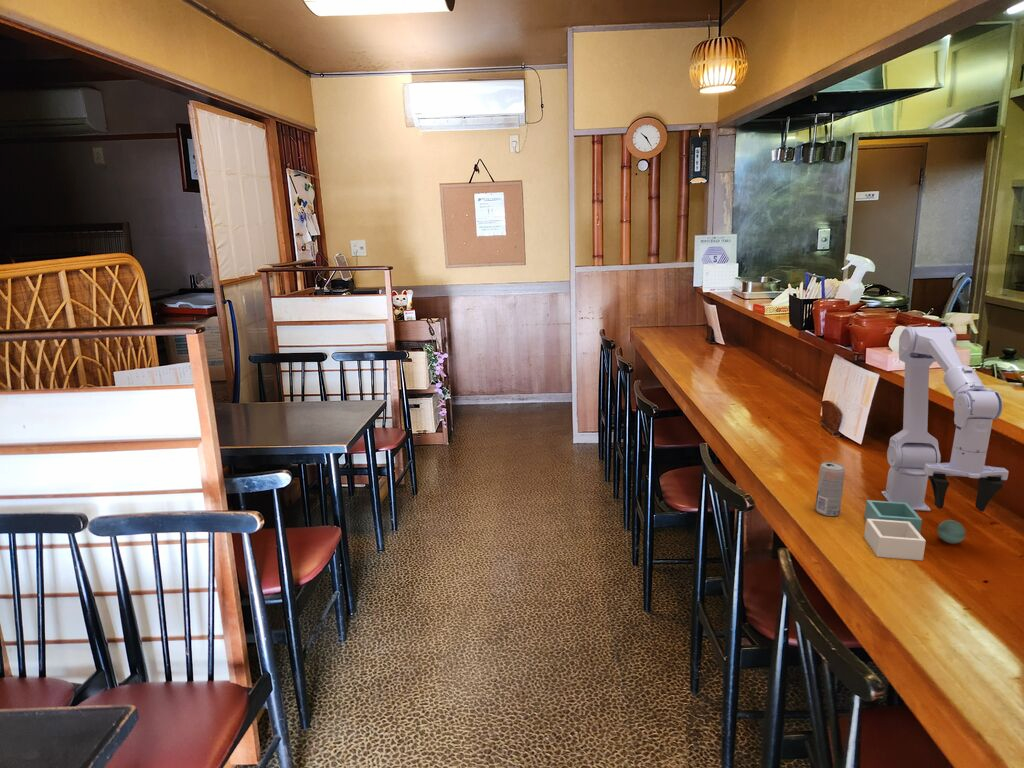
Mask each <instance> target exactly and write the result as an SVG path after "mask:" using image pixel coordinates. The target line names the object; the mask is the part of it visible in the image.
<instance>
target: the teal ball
mask: <svg viewBox="0 0 1024 768" xmlns="http://www.w3.org/2000/svg"><path fill="white" fill-rule="evenodd" d="M966 533H967V531H966V528H965V527H964V525H962V523H960V522H958V521H957V520H953V519H946V520H944V521H942V522H940V523H939V525H937V534H938V537H939V538H940V539H941V540H942V541H944V542H946V543H948V544H958V543H961V542H962V541H963V540H964V539H965V537H966Z"/></svg>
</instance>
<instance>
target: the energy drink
mask: <svg viewBox="0 0 1024 768" xmlns="http://www.w3.org/2000/svg"><path fill="white" fill-rule="evenodd" d="M845 470H846V469H845V466H844V465H843V464H841V463H838V462H832V461H824V462H821V464H820V467H819V471H818V472H819V473H818V481H817V489H816V499H815V509H814V510H815V511H816V512H817V514H820V516H821V515H822V516H825V517H837V516H839V515H841V506H842V499H843V492H844V491H843V490H844V483H845V474H846V473H845V472H846V471H845Z"/></svg>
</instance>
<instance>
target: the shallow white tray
mask: <svg viewBox="0 0 1024 768" xmlns="http://www.w3.org/2000/svg"><path fill="white" fill-rule="evenodd" d="M863 538H864V540H865V541H866V542H867V544H868V545H869V547H870V548H871V550H872V552H873V553H874V554H875V556H876V557H878V558H888V559H898V560H901V559H902V560H913V561H923V560H924V556H925V555H924V554H925V548H926V542H927V540H926V539H925V538H924V537H923V536H922V535H921V532H920V533H919V532H918V531H917V530H916V529H915V527H914V526H913V525H912V524H911V523H910V522H908V521H894V520H880V519H865V527H864V534H863Z"/></svg>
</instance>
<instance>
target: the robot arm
mask: <svg viewBox="0 0 1024 768" xmlns="http://www.w3.org/2000/svg"><path fill="white" fill-rule="evenodd" d="M956 346H957V333H956V332H955V330H954V328H952V327H951V326H910V325H909V326H908V325H907V326H906V327H904V329H902V331H901V333H900V335H899V337H898V356H899V357H898V359H899V361H901V362H903V363H904V379H903V380H904V382H903V383H904V384H903V387H904V388H903V389H904V390H903V392H904V393H903V419H902V421H903V422H902V423H903V424H902V425H903V426H902V429H901V430H900V431H898V432H897V433H895V434H894V435H892V436H891V437H890V439H889V443H888V448H887V452H886V458H887V463H888V464H889V466H890V467H889V470H888V473H887V479H886V488H885V490H882V491H881V495H882V496H883V497H884V498H885V499H886V501H888V502H903V503H908V504H909V505H910V507H911V508H912V509H913V510H914V511H925V512H930V511H931V508H930V507H929V505H927V504H926V502H925V498H926V491H927V487H928V480H929V482H930V485H931V487H932V491H933V497H934V506H936V507H937V509H943V508H944V505H945V498H946V494H947V490H948V488H949V485H950V484H951V483H950V482H949V480H947V479H948V478H947V477H946V476H948V477H949V476H950V477H968V478H970V479H977V480H978V481H977V482H978V483H977V495H976V499H975V508H976V509H977V510H978V511H979V512H981V513H982V512H985V509H986V508H987V506H988V505H989V503H990V501H991V500H992V498H993V497H994V496H995V495H996V494H997V493H998V492H999V491H1000V490H1001V489H1003V487H1004V482H1003V481H1007V480H1008V477H1009V470H1008V469H1006V468H1005V467H996V466H991V465H986V459H987V453H988V448H989V442H990V438H991V437H990V436H991V432H992V426H993V421H994V420H997V419H999V418H1000V416H1002V412H1003V409H1004V408H1003V407H1004V406H1003V405H1004V404H1003V398H1002V397H1001V395H1000V391H998V390H992V389H991V388H990V387H988V388H987V387H986V386H985V385H984V383H983V381H982V380H981V378H980V377H979V375H978V374H977V373H976V370H974V368H973V367H971V366H968V365H965V364H964V363H963V361H962V359H961V357H960V355H959V353H958V351H957V349H956ZM933 363H937V365H939V367H940V368H941V369H942V371H943V373H945V374H943V378H942V379H943V382H944V384H945V387H947V389H948V390H949V393H950V394H951V396H952V398H953V399H954V400H953V402H952V403H953V412H954V417H953V421H954V425H955V432H954V437H953V443H952V448H951V455H950V460H949V462H941V457H942V456H941V452H940V449H939V448H940V446H939V441H938V439H937V438H936V437H934V436H933V435H931V434H930V433H929V432H928V427H929V426H928V420H929V419H928V418H929V416H928V415H929V386H930V381H929V380H930V379H929V378H930V367H931V366H932V364H933Z"/></svg>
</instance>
